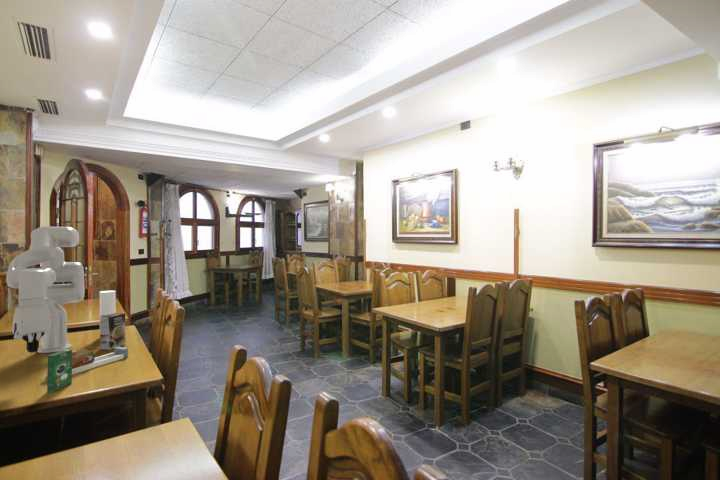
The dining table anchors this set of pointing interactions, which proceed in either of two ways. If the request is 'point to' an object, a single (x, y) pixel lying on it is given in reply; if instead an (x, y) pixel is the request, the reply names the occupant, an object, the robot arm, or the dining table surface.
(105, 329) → the coffee box
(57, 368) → the coffee box
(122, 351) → the guide track
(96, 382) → the dining table surface
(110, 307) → the cylindrical container
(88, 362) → the tin
